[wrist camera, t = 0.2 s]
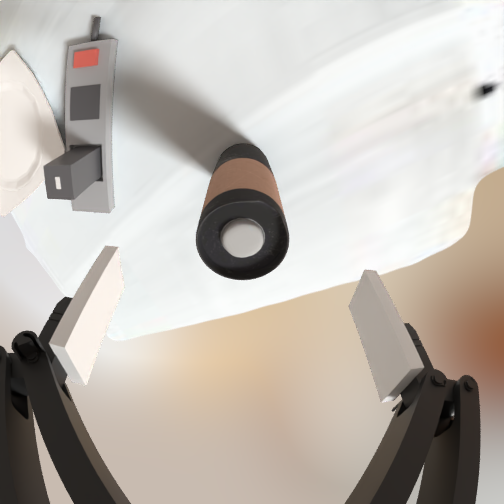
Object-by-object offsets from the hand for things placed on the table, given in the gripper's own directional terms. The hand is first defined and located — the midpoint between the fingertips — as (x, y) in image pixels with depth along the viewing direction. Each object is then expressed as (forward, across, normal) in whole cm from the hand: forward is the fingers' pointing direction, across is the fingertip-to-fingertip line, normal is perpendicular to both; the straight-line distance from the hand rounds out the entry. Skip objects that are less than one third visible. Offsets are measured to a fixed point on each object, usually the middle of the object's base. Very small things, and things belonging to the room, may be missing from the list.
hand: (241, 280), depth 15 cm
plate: (+28, -42, +3) cm, 50 cm away
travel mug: (+28, 0, -3) cm, 28 cm away
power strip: (+28, -23, +5) cm, 36 cm away
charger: (+27, -23, -2) cm, 35 cm away
